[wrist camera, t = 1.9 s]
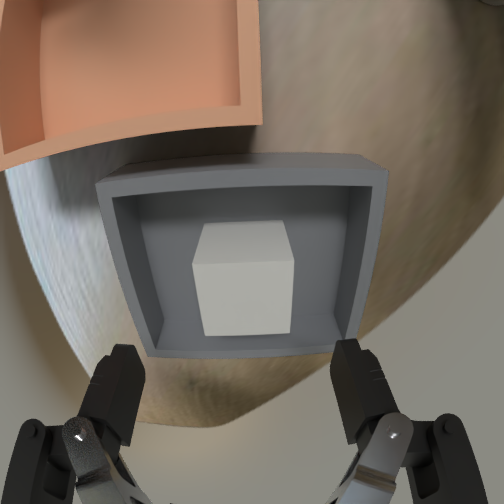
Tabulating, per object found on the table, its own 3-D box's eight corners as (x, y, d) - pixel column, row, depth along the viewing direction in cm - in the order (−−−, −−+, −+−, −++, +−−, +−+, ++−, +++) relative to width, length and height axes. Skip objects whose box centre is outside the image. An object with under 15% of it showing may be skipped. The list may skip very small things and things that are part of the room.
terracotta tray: (249, -75, 8) (250, -117, 3) (257, 118, 15) (262, 124, 10) (47, -22, 8) (6, -36, 3) (46, 150, 15) (-2, 172, 10)
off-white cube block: (282, 220, 17) (294, 260, 13) (281, 284, 19) (289, 332, 15) (204, 223, 17) (192, 264, 13) (212, 286, 19) (205, 335, 15)
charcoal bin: (359, 154, 16) (388, 170, 12) (338, 312, 21) (352, 349, 18) (125, 164, 16) (94, 183, 12) (159, 318, 21) (147, 356, 18)
